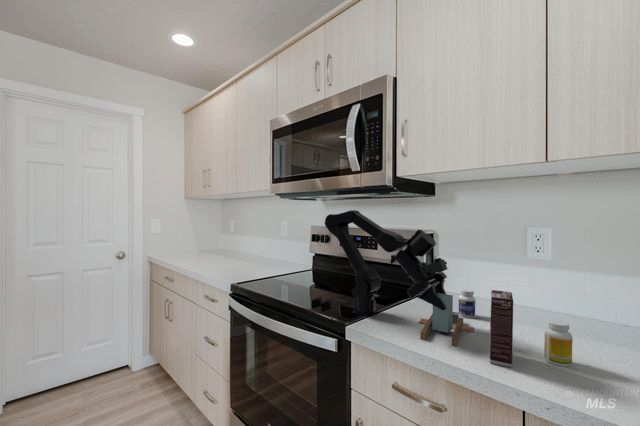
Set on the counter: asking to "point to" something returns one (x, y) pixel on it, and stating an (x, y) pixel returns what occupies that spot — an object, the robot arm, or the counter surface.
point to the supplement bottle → (558, 343)
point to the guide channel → (457, 325)
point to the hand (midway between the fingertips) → (447, 307)
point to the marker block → (443, 314)
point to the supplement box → (501, 328)
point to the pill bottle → (467, 303)
